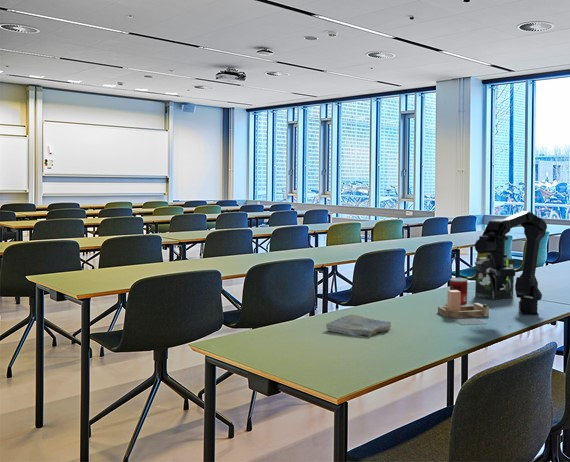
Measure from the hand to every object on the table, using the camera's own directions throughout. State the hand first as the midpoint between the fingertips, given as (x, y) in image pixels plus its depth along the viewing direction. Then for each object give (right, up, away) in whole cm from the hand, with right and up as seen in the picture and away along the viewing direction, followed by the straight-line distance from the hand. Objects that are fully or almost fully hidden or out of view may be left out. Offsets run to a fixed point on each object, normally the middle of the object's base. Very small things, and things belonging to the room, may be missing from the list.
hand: (496, 290), depth 239 cm
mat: (-12, -12, -2) cm, 17 cm away
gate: (-3, -11, +10) cm, 15 cm away
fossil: (-56, -14, -13) cm, 59 cm away
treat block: (-14, -11, +9) cm, 20 cm away
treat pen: (-11, -11, +15) cm, 22 cm away
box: (+16, -8, +48) cm, 51 cm away
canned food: (-5, -9, +35) cm, 36 cm away
